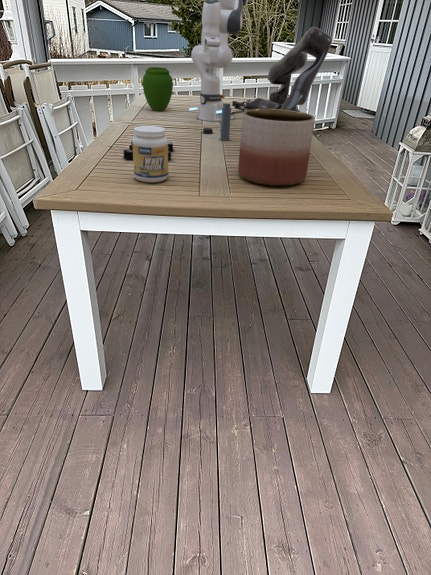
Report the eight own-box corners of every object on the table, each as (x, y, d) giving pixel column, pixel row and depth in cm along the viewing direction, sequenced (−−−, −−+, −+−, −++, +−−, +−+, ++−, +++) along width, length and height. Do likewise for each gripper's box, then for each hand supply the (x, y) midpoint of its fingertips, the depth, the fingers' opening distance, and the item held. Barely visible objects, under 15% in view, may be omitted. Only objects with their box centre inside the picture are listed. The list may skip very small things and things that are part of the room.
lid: (201, 133, 215) (201, 129, 213) (204, 131, 219) (204, 127, 217) (210, 134, 213) (210, 130, 212) (213, 132, 217) (213, 128, 216)
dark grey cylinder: (219, 138, 205) (221, 102, 196) (228, 139, 206) (230, 102, 197) (220, 140, 202) (222, 103, 193) (229, 141, 202) (232, 104, 193)
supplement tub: (139, 184, 140) (136, 133, 131) (130, 174, 149) (127, 125, 140) (173, 181, 144) (172, 131, 135) (162, 172, 153) (161, 124, 144)
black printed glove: (122, 152, 163) (135, 135, 189) (122, 159, 165) (135, 142, 190) (169, 154, 164) (176, 137, 189) (170, 161, 165) (176, 144, 191)
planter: (315, 188, 145) (327, 122, 133) (246, 188, 141) (252, 121, 129) (292, 167, 166) (301, 109, 155) (231, 167, 162) (235, 107, 150)
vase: (143, 107, 275) (142, 66, 262) (173, 108, 277) (172, 67, 264) (142, 112, 259) (140, 68, 246) (173, 113, 261) (173, 70, 248)
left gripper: (200, 40, 203) (200, 71, 210) (207, 41, 186) (206, 75, 193) (213, 40, 204) (212, 71, 211) (221, 41, 187) (219, 75, 194)
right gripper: (277, 98, 178) (252, 93, 189) (252, 100, 171) (228, 94, 181) (274, 116, 182) (251, 110, 193) (250, 119, 175) (227, 112, 185)
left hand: (209, 73), depth 202 cm, fingers open, 8 cm apart
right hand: (240, 102), depth 187 cm, fingers open, 8 cm apart
